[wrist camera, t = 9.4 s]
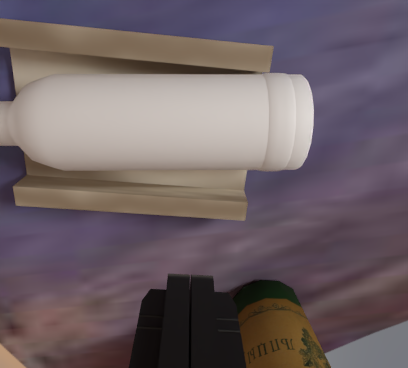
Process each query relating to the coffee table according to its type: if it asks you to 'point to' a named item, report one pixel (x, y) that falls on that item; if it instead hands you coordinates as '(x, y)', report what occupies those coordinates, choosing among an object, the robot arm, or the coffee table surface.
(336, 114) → the coffee table surface
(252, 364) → the bottle
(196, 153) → the bottle
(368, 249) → the coffee table surface
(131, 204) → the cradle
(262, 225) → the coffee table surface
